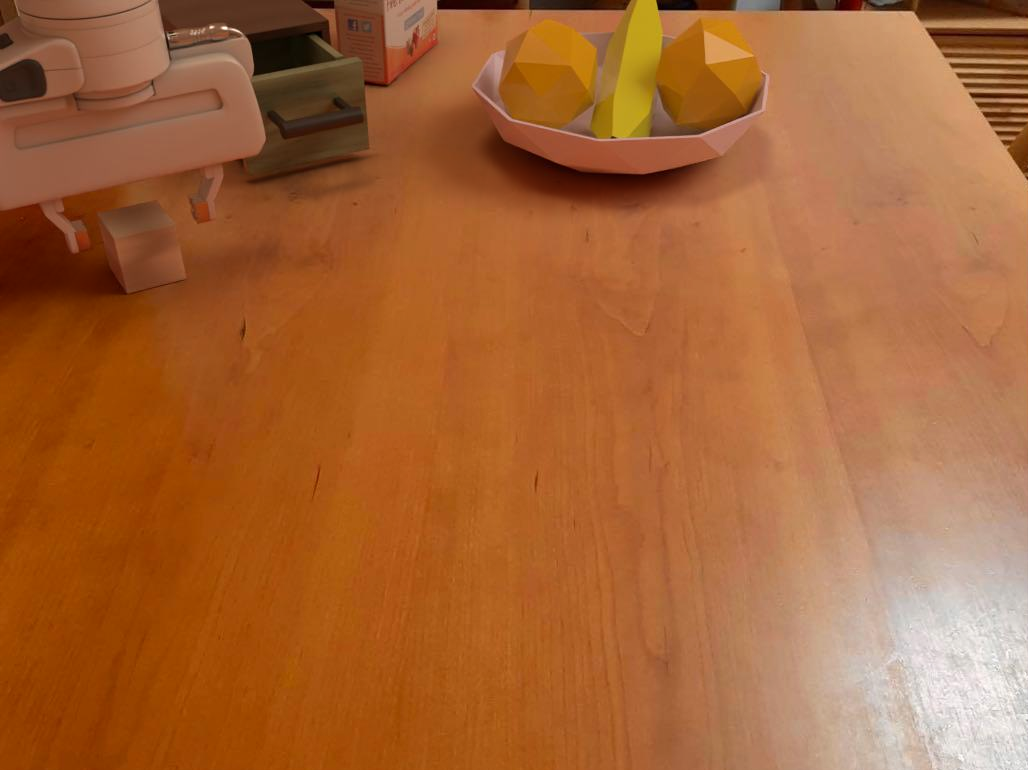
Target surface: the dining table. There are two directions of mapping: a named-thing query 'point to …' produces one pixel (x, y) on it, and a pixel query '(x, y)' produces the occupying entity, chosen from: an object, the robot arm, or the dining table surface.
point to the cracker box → (385, 34)
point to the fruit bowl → (624, 93)
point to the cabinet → (247, 17)
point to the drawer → (306, 102)
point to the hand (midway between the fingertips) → (143, 234)
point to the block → (142, 246)
